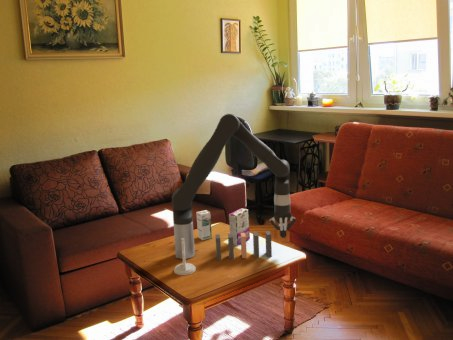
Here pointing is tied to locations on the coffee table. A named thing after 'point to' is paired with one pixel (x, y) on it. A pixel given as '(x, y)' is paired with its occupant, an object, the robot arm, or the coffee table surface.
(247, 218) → the candy bar box
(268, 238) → the domino
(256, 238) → the domino
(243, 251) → the domino
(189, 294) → the coffee table surface
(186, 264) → the white paper towel holder
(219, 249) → the domino
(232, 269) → the coffee table surface
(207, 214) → the syrup box
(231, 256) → the domino
